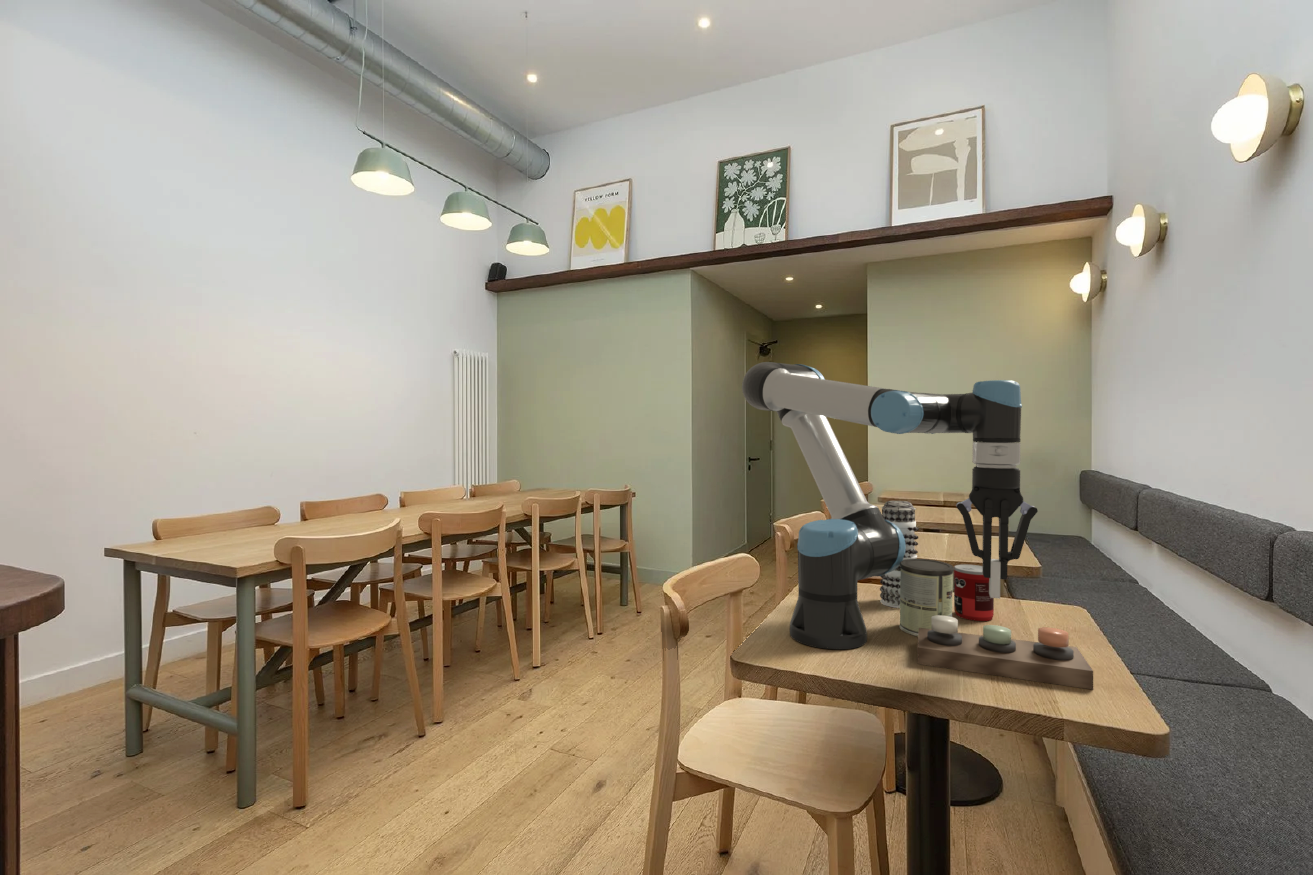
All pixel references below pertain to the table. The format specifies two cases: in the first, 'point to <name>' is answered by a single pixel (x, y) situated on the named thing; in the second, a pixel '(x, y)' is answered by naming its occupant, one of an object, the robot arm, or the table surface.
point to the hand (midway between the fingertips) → (994, 596)
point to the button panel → (1005, 658)
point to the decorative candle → (905, 521)
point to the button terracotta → (1053, 637)
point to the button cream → (944, 624)
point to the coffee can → (924, 593)
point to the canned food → (972, 593)
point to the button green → (997, 634)
